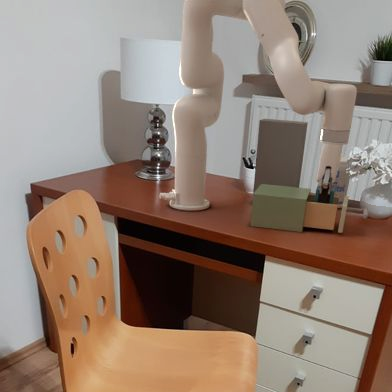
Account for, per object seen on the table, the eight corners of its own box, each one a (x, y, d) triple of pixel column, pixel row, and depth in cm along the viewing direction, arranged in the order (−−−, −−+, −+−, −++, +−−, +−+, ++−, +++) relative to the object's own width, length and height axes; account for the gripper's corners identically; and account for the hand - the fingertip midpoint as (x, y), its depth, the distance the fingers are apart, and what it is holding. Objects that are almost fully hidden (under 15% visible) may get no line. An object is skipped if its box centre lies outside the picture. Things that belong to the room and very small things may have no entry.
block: (331, 209, 144) (334, 191, 141) (313, 207, 145) (316, 189, 142) (332, 205, 148) (335, 187, 145) (314, 203, 149) (317, 185, 146)
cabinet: (306, 219, 156) (311, 188, 151) (301, 232, 145) (306, 199, 141) (258, 214, 159) (261, 183, 154) (250, 226, 148) (253, 193, 144)
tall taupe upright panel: (297, 205, 170) (308, 121, 157) (293, 209, 165) (304, 124, 152) (257, 199, 174) (264, 118, 161) (251, 203, 169) (258, 120, 156)
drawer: (364, 223, 151) (369, 198, 147) (364, 235, 141) (369, 208, 138) (297, 216, 155) (301, 191, 152) (293, 227, 146) (296, 201, 142)
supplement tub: (321, 209, 166) (329, 161, 158) (310, 201, 174) (317, 155, 166) (349, 209, 168) (358, 161, 160) (337, 201, 176) (345, 155, 168)
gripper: (322, 131, 145) (312, 197, 154) (317, 140, 131) (306, 212, 140) (350, 133, 143) (338, 199, 153) (347, 142, 129) (334, 215, 138)
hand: (323, 205), depth 146 cm, fingers closed on block, 5 cm apart
